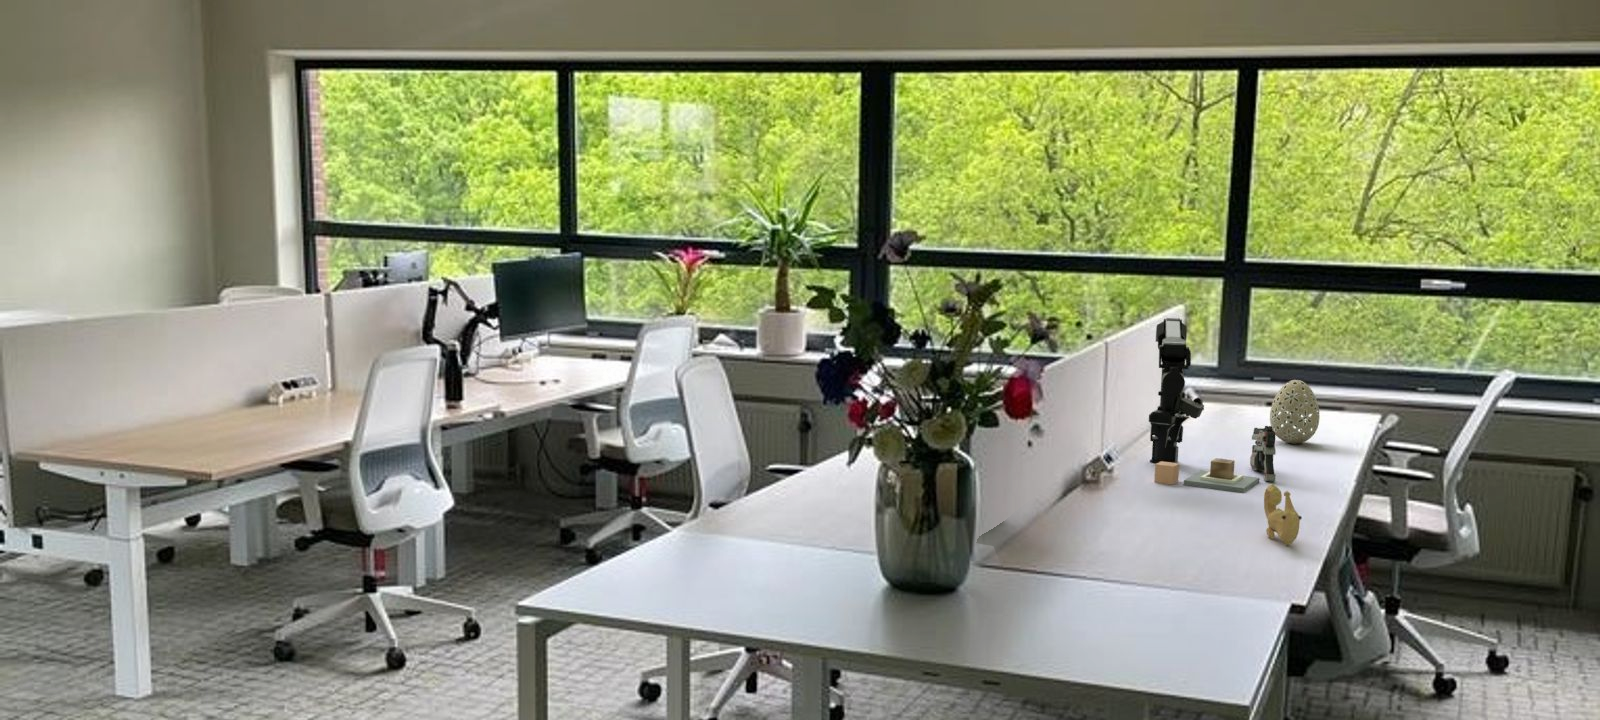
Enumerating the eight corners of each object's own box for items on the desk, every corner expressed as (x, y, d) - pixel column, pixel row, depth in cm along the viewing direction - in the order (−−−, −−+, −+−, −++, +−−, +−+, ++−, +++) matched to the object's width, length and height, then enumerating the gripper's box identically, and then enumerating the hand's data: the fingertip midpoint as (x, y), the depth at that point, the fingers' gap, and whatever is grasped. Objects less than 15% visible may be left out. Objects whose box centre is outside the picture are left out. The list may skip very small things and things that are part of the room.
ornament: (1322, 442, 451) (1326, 379, 448) (1311, 449, 439) (1315, 385, 436) (1275, 437, 459) (1278, 375, 456) (1262, 444, 446) (1266, 380, 444)
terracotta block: (1154, 482, 388) (1155, 464, 387) (1160, 479, 392) (1161, 461, 392) (1172, 484, 385) (1173, 466, 385) (1178, 481, 390) (1179, 463, 389)
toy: (1280, 479, 337) (1309, 497, 317) (1277, 530, 339) (1306, 551, 319) (1257, 479, 337) (1285, 497, 317) (1255, 529, 339) (1281, 551, 319)
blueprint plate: (1183, 484, 385) (1183, 477, 385) (1200, 474, 399) (1201, 467, 399) (1243, 492, 377) (1244, 485, 377) (1259, 481, 391) (1259, 474, 390)
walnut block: (1209, 479, 387) (1210, 461, 386) (1215, 476, 391) (1216, 458, 391) (1228, 481, 384) (1229, 463, 384) (1233, 478, 389) (1234, 460, 388)
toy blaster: (1260, 479, 410) (1262, 426, 411) (1278, 481, 389) (1279, 426, 390) (1247, 478, 410) (1248, 426, 411) (1264, 480, 390) (1265, 425, 390)
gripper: (1191, 395, 373) (1187, 454, 376) (1211, 386, 389) (1208, 443, 391) (1149, 391, 379) (1146, 449, 381) (1171, 382, 395) (1168, 438, 397)
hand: (1168, 445), depth 388 cm, fingers open, 9 cm apart
